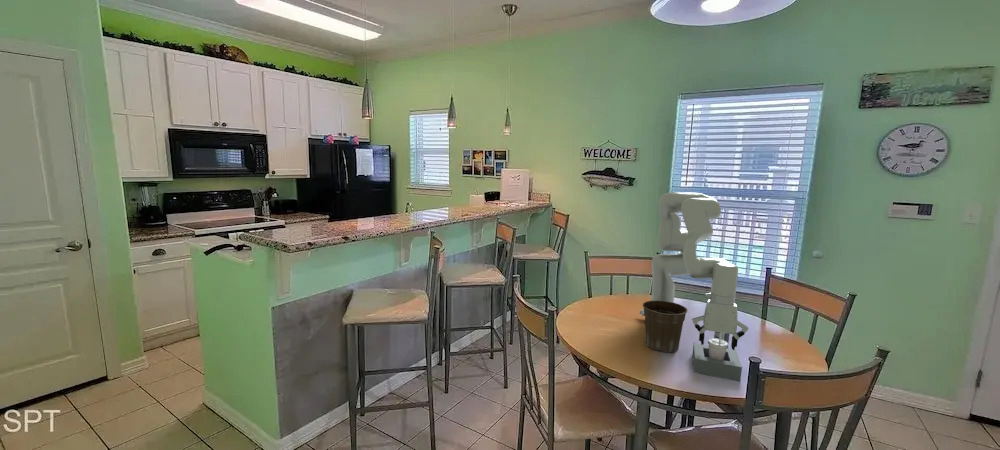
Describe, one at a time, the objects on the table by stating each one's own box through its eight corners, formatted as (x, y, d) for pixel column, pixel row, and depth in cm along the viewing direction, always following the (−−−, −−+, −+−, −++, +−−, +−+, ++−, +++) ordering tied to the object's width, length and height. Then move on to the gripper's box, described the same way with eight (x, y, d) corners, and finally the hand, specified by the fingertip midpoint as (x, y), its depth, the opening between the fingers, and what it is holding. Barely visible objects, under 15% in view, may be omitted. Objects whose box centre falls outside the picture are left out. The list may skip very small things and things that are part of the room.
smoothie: (727, 373, 144) (732, 334, 142) (707, 370, 145) (712, 332, 143) (722, 364, 150) (726, 327, 148) (702, 362, 151) (706, 325, 149)
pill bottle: (726, 342, 169) (729, 322, 167) (729, 348, 164) (731, 326, 162) (712, 340, 170) (714, 320, 169) (714, 346, 165) (716, 324, 164)
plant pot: (630, 340, 168) (633, 302, 166) (661, 335, 175) (664, 298, 172) (660, 358, 154) (664, 316, 151) (693, 351, 160) (697, 311, 158)
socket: (694, 372, 144) (695, 358, 143) (692, 355, 156) (693, 343, 156) (740, 381, 138) (742, 367, 138) (734, 363, 151) (736, 350, 150)
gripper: (695, 298, 143) (690, 345, 146) (753, 306, 137) (747, 355, 140) (694, 292, 150) (689, 337, 153) (749, 299, 144) (743, 346, 146)
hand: (717, 345), depth 146 cm, fingers open, 9 cm apart
